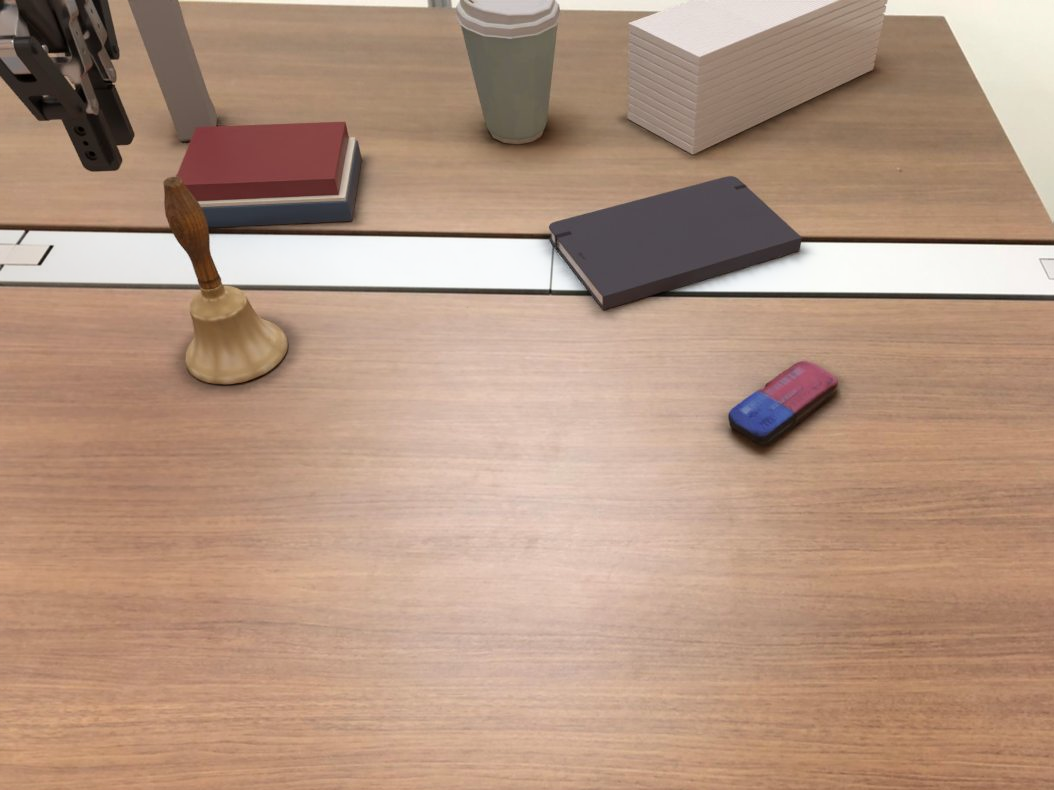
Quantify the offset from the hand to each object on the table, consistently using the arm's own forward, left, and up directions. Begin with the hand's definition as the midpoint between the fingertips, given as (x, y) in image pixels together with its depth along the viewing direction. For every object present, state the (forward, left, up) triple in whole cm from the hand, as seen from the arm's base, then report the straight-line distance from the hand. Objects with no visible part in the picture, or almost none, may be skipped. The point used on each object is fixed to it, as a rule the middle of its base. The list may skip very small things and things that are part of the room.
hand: (111, 154), depth 60 cm
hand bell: (+4, +3, -21) cm, 22 cm away
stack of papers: (+73, +2, -21) cm, 76 cm away
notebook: (+42, -12, -21) cm, 49 cm away
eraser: (+31, -34, -21) cm, 51 cm away
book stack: (+20, +23, -21) cm, 37 cm away
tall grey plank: (+21, +40, -21) cm, 50 cm away
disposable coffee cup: (+46, +15, -21) cm, 53 cm away
